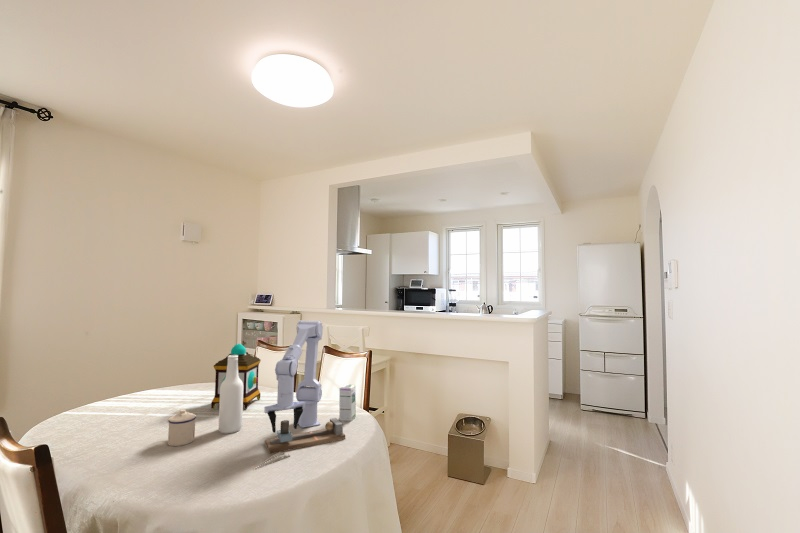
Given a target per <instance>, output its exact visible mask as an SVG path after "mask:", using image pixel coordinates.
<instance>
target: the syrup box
mask: <svg viewBox="0 0 800 533" xmlns="http://www.w3.org/2000/svg"><path fill="white" fill-rule="evenodd" d="M338 403H339V417H338V418H339V419H338V420H339V421H341V420H342V421H343V422H352V421H353V420H354V419H355V418H356V413H357V412H356V410H357V408H356V404H357V402H356V385H355V384H343V385H342V386H340V387H339V402H338ZM342 421H341V422H342Z"/></svg>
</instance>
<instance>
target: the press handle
mask: <svg viewBox="0 0 800 533" xmlns="http://www.w3.org/2000/svg"><path fill="white" fill-rule="evenodd" d="M292 435H293V433H292V432H291V431H290V420H287V419H286V420H281V421H280V429H278V430H277V431H276V438H277V437H278V439H279V440H280V442H281V443H282V442H287V441H292Z"/></svg>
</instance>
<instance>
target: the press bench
mask: <svg viewBox="0 0 800 533" xmlns="http://www.w3.org/2000/svg"><path fill="white" fill-rule="evenodd" d="M342 440H346V434H345V433H344V426H343V423H342V421H341V420H340V419H338V418H337V417H333V418H330V419H329V421H327V422H326V423H325V425H324V428H322V429H317V430H309V431H307V432H306V431H305V432H300V433H294V434H293V433H292V441H287V442H282V443H281V442H280V440H279V439H278V437H277V436H276V437H272V438H266V439H264V445H265V447H266V450H267V451H268V453H269V455H271V454H277V453H278V452H279V453H280V452H281V453H284V452H287V451H291V450H297V449H301V448H307V447H312V446H317V445H322V444H327V443H332V441H333V442H337V441H338V442H339V441H342Z"/></svg>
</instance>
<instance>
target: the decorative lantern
mask: <svg viewBox="0 0 800 533" xmlns="http://www.w3.org/2000/svg"><path fill="white" fill-rule="evenodd" d="M230 355H237V356H238V376H239V378H240V379H241V381H242V382H243V410H245V411H246V410H247V409H248V406H249V403H250V402H251V401H252V400H254V399H256V400H257V401H260V400H261V392H260V389H259V365H260V363H261V359H260V358H259V357H257V356H255V355H254V356H253V355H252V354H250V353H249V352H247V349H246V347H245V346H244V345H243V344H241V343H237V344H235V345H234V346H232V348H231V349H230V353H228V354H227V356H225V358H222V359H221V360H218V361H217V362H216V363H215V364H213V368H214V370H215V378H214V379H215V380H214V382H215V384H214V385H215V386H214V397H213V398H212V400H211V404H210V405H211V409H212V410H214V409H216V404H217V405H218V404H220V387H221V384H222V382H223V381H224V380H225V378H226V373H227V364H228V356H230Z"/></svg>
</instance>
